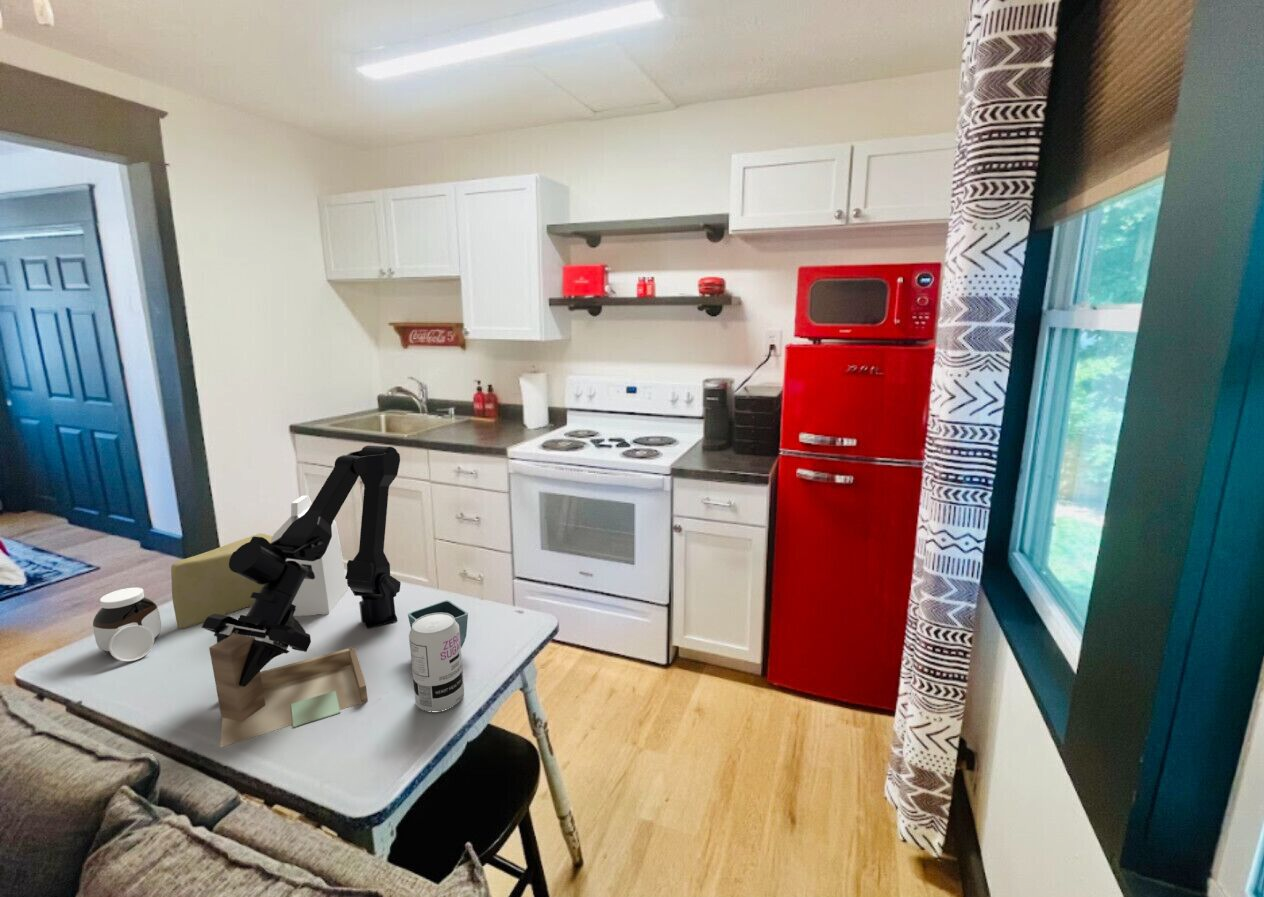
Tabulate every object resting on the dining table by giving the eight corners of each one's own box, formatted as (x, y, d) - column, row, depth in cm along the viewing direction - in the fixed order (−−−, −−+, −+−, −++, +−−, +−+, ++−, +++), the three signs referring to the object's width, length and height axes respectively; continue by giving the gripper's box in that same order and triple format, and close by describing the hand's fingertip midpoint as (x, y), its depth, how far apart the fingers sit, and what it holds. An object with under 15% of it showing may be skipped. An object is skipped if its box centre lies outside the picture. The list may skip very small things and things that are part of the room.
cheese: (190, 635, 127) (178, 570, 124) (168, 624, 132) (156, 561, 129) (291, 594, 146) (283, 537, 143) (269, 586, 151) (260, 530, 148)
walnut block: (245, 701, 104) (234, 633, 101) (265, 705, 103) (254, 637, 100) (221, 717, 100) (209, 647, 97) (241, 721, 99) (230, 651, 96)
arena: (356, 662, 116) (354, 646, 116) (369, 705, 103) (366, 688, 102) (224, 699, 105) (221, 682, 105) (220, 753, 92) (216, 734, 91)
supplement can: (422, 687, 108) (415, 612, 105) (468, 684, 109) (462, 609, 106) (410, 716, 100) (401, 635, 97) (459, 713, 101) (453, 633, 98)
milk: (299, 593, 146) (285, 492, 141) (348, 590, 148) (336, 490, 142) (276, 617, 135) (260, 508, 129) (329, 614, 136) (315, 506, 130)
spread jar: (141, 632, 129) (131, 582, 126) (184, 637, 126) (175, 587, 124) (81, 663, 117) (69, 609, 115) (127, 669, 115) (115, 614, 112)
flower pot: (450, 637, 125) (447, 598, 123) (472, 653, 119) (469, 612, 117) (410, 654, 119) (406, 613, 117) (430, 671, 113) (426, 629, 111)
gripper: (346, 614, 111) (307, 702, 103) (268, 602, 116) (224, 685, 108) (308, 594, 102) (261, 689, 94) (225, 581, 107) (173, 670, 99)
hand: (230, 683), depth 99 cm, fingers closed on walnut block, 4 cm apart
